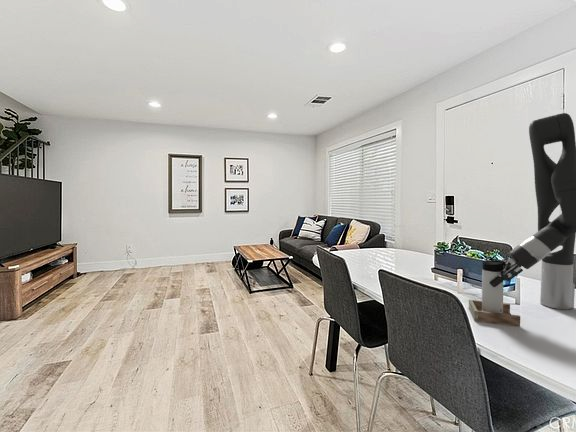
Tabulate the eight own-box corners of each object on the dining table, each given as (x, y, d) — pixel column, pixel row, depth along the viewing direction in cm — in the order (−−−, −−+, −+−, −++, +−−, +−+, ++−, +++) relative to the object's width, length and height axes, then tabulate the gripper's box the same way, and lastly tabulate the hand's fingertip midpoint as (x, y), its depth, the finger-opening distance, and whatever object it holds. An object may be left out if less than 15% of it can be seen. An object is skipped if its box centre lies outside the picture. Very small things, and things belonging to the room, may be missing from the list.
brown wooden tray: (509, 313, 110) (509, 303, 110) (520, 326, 98) (520, 316, 98) (468, 308, 115) (468, 299, 115) (474, 320, 103) (474, 311, 103)
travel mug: (507, 319, 103) (508, 262, 102) (486, 318, 104) (486, 262, 103) (498, 312, 109) (499, 258, 108) (478, 311, 110) (479, 258, 109)
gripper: (514, 241, 109) (476, 269, 114) (527, 247, 96) (484, 278, 101) (531, 256, 107) (492, 284, 112) (547, 265, 94) (502, 296, 99)
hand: (488, 281), depth 107 cm, fingers open, 8 cm apart
